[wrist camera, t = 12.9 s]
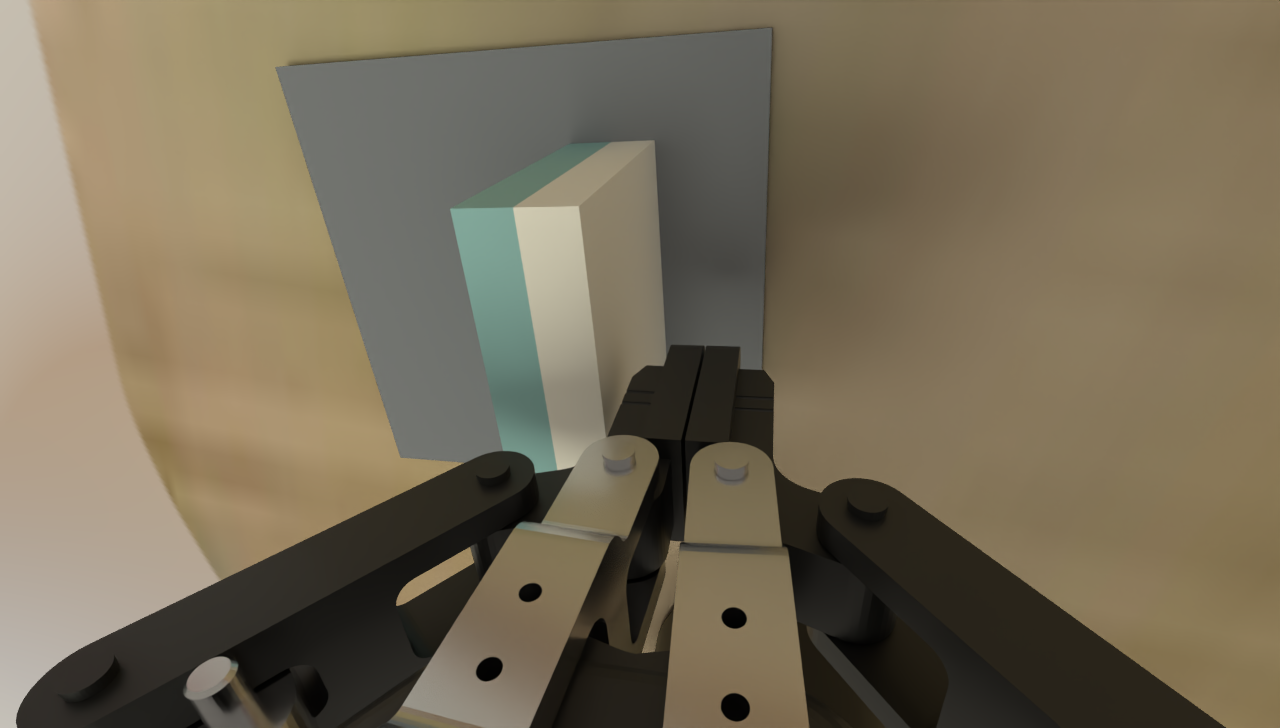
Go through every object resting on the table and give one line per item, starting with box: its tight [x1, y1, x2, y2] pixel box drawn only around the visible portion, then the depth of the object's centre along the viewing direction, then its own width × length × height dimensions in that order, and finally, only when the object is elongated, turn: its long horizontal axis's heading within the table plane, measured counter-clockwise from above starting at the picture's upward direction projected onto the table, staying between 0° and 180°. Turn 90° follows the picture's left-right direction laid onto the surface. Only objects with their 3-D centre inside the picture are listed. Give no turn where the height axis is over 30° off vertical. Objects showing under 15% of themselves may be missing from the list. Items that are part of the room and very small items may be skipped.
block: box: [450, 140, 666, 473], centre depth 16 cm, size 2×9×7 cm, turn 5°
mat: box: [275, 28, 772, 463], centre depth 19 cm, size 14×14×1 cm
